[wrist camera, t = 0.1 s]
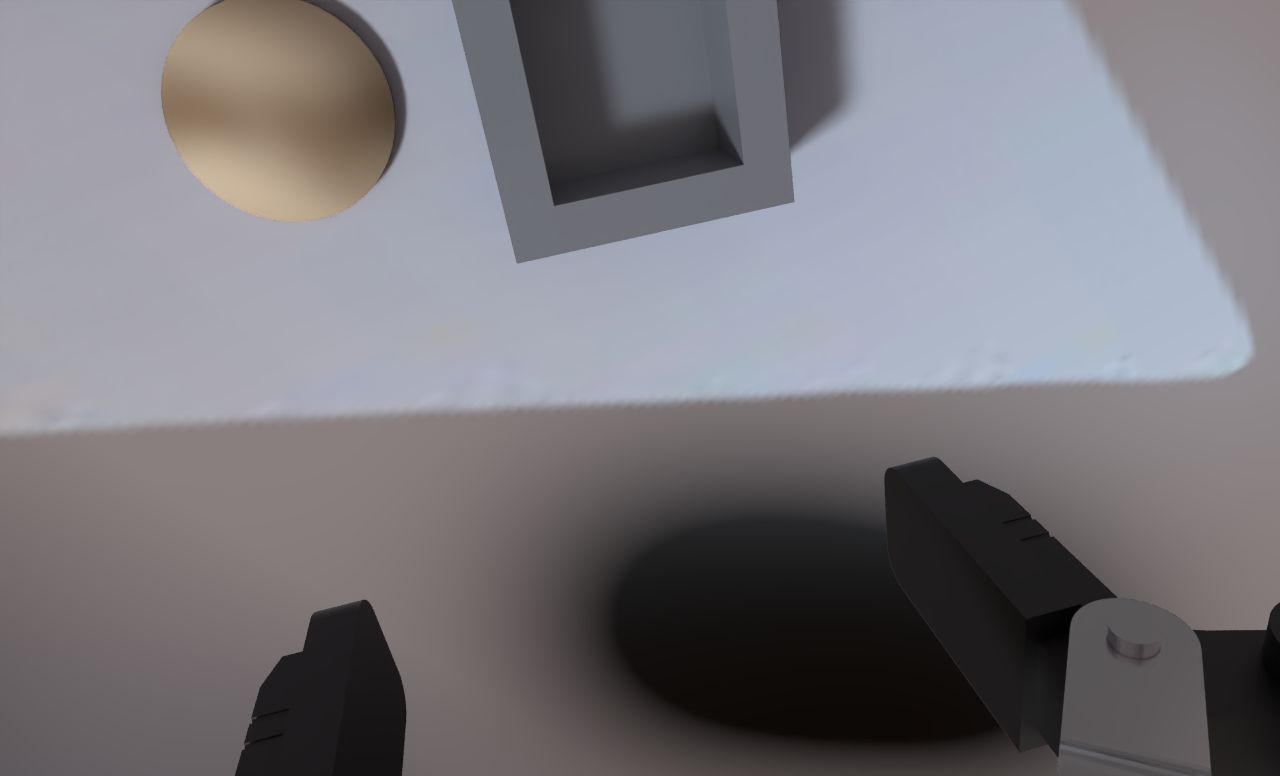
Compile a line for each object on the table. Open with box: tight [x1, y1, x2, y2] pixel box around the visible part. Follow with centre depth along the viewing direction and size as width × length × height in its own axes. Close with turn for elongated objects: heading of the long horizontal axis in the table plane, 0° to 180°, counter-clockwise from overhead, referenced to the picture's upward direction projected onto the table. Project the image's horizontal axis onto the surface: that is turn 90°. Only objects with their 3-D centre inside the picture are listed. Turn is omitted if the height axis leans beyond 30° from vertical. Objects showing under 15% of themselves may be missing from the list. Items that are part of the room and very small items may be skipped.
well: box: [452, 0, 794, 263], centre depth 35 cm, size 12×12×5 cm
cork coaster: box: [161, 0, 395, 222], centre depth 36 cm, size 9×9×1 cm
